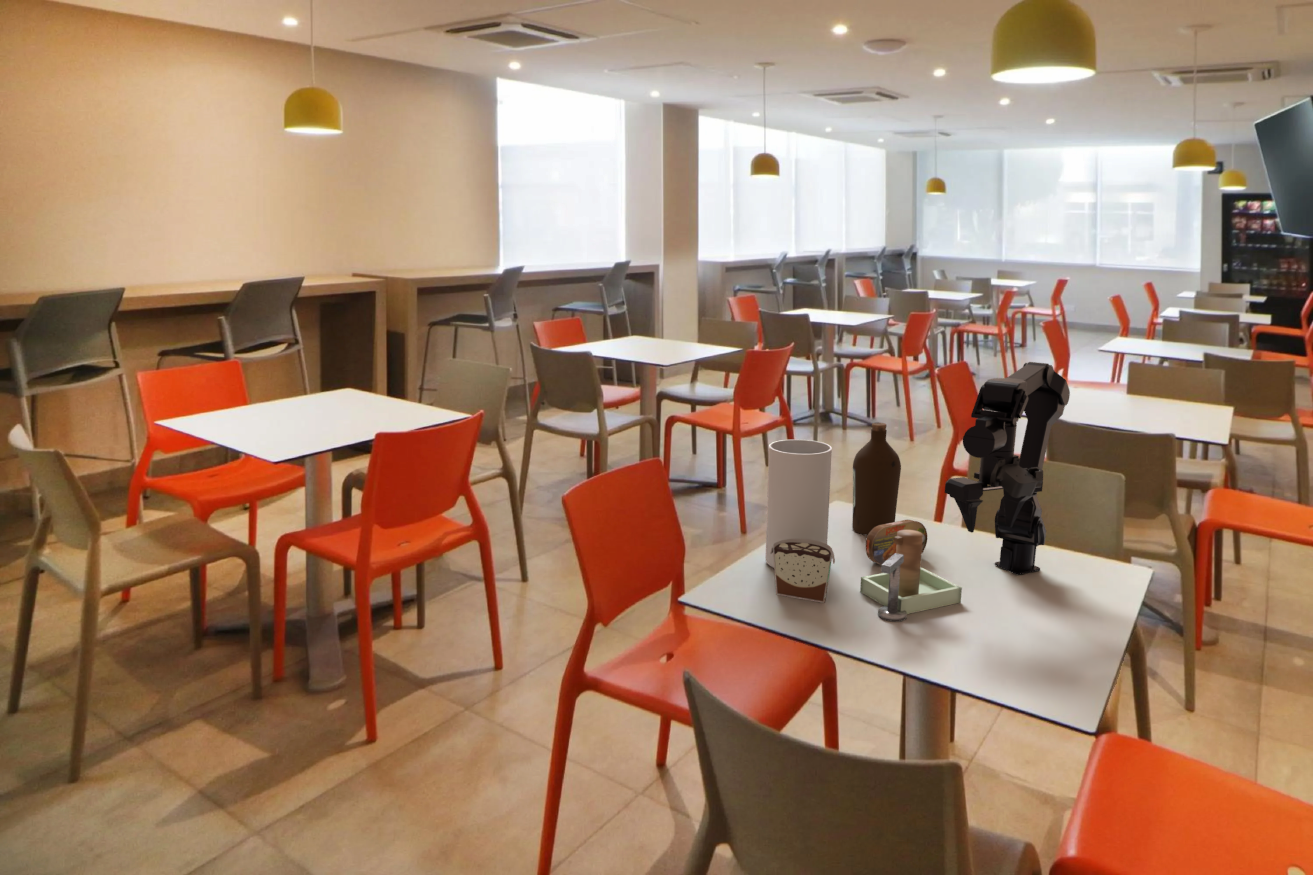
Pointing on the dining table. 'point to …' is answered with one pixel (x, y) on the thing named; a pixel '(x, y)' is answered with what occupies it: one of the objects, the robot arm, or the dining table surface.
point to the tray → (930, 595)
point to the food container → (802, 568)
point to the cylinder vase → (797, 492)
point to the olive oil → (875, 482)
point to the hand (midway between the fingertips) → (990, 529)
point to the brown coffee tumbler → (909, 561)
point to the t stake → (892, 589)
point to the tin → (890, 539)
